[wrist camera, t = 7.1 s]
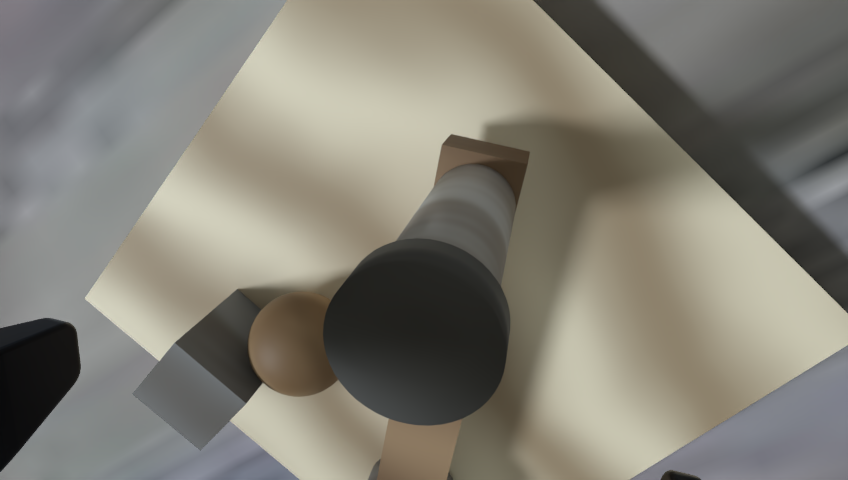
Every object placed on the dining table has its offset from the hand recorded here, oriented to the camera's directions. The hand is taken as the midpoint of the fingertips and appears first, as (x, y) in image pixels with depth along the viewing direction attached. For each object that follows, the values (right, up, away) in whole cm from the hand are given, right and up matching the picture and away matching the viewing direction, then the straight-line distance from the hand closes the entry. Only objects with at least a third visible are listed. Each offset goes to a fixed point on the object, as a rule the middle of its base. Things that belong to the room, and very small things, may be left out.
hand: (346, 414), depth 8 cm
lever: (+2, -2, +12) cm, 13 cm away
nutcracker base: (+1, +1, +14) cm, 14 cm away
